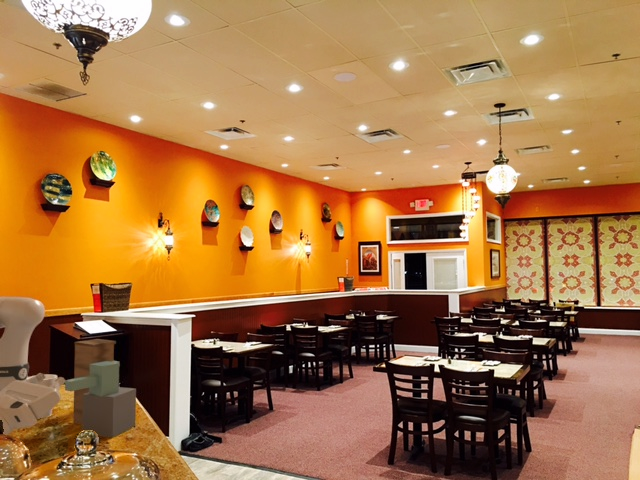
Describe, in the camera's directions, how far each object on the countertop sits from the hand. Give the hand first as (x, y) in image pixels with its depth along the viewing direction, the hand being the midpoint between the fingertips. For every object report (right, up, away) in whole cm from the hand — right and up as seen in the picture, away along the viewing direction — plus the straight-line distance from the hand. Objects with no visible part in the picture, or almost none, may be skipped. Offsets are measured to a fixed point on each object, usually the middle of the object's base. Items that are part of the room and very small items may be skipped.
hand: (52, 377), depth 149 cm
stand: (+1, -21, +24) cm, 32 cm away
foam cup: (-19, -21, +30) cm, 42 cm away
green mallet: (+7, -8, +11) cm, 15 cm away
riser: (+10, -21, +15) cm, 28 cm away
